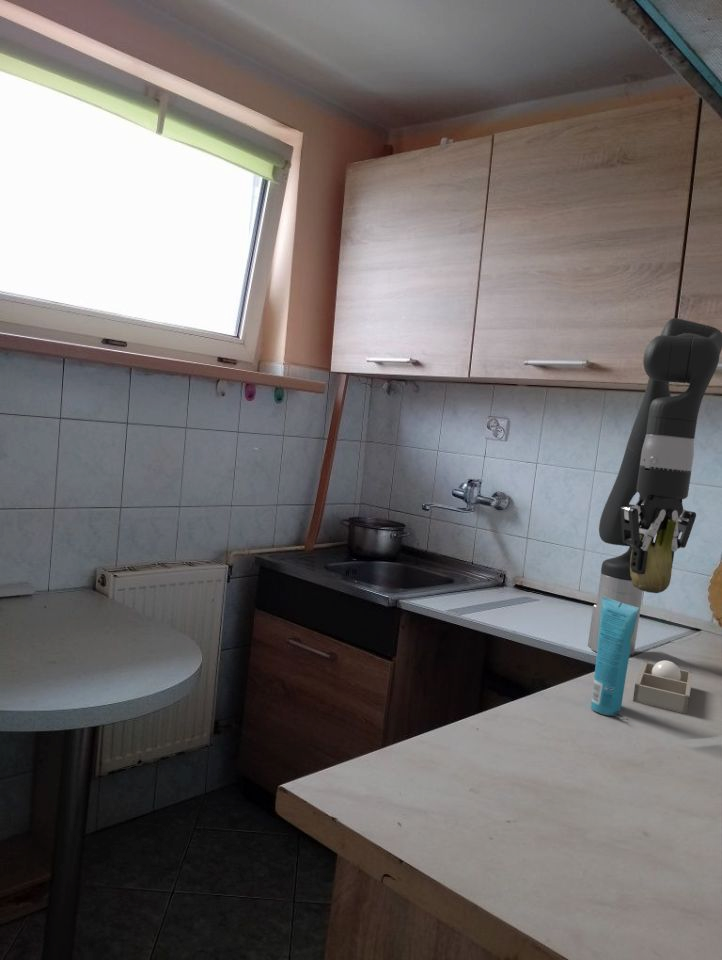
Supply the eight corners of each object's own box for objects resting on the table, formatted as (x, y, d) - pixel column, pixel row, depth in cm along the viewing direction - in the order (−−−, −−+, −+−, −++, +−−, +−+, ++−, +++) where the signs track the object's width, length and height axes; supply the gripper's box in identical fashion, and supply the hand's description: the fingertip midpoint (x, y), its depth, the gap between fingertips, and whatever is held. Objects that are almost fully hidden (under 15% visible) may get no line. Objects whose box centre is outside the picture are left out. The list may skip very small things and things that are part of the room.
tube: (631, 716, 129) (647, 606, 128) (616, 721, 126) (631, 608, 125) (594, 701, 135) (608, 595, 133) (578, 705, 132) (592, 597, 130)
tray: (641, 681, 150) (643, 661, 150) (689, 692, 146) (692, 672, 146) (632, 706, 134) (635, 684, 134) (686, 719, 131) (689, 697, 130)
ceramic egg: (643, 683, 145) (647, 657, 145) (663, 682, 147) (667, 656, 147) (664, 693, 140) (668, 666, 140) (685, 692, 143) (689, 665, 142)
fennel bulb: (622, 586, 121) (633, 512, 120) (644, 586, 123) (654, 513, 122) (652, 596, 116) (663, 518, 115) (673, 595, 118) (685, 519, 117)
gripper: (680, 466, 124) (665, 568, 125) (613, 460, 118) (598, 567, 119) (718, 471, 117) (702, 579, 119) (649, 464, 111) (633, 578, 113)
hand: (650, 572), depth 119 cm, fingers closed on fennel bulb, 4 cm apart
